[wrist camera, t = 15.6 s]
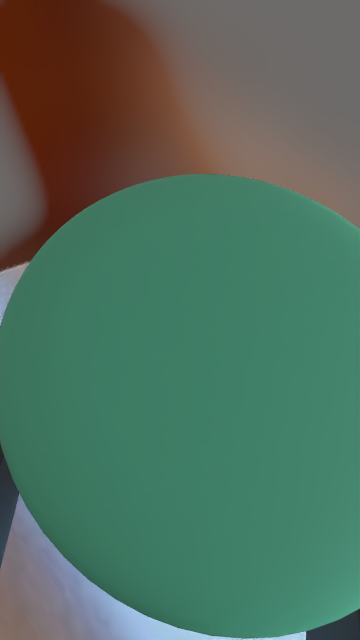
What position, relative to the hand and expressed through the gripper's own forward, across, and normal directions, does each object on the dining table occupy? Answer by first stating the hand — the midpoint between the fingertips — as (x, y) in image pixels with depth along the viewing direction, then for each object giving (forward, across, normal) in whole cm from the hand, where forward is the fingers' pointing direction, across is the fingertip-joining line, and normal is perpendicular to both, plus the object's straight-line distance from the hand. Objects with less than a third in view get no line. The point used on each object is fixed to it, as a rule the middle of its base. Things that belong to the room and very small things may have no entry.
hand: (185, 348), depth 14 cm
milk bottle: (+4, 0, -9) cm, 9 cm away
